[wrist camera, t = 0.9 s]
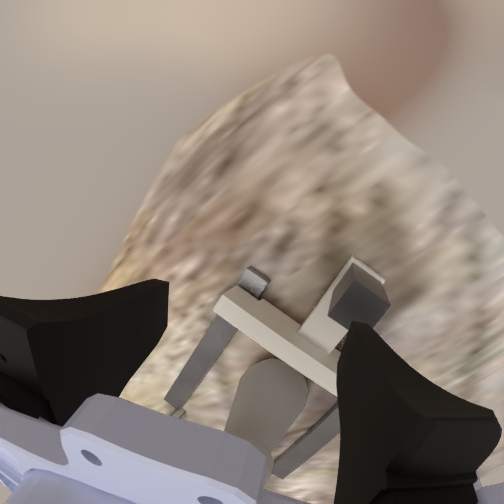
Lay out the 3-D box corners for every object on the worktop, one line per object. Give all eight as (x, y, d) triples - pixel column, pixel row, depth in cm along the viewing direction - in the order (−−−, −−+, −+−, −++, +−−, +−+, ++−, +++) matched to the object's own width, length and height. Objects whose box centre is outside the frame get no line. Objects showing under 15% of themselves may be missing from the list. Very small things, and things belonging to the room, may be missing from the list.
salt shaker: (286, 414, 27) (243, 517, 15) (237, 380, 28) (168, 470, 16) (325, 373, 26) (299, 482, 13) (271, 336, 27) (209, 426, 14)
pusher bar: (438, 317, 22) (468, 357, 15) (373, 394, 24) (376, 450, 17) (286, 209, 25) (260, 209, 17) (231, 296, 27) (189, 326, 20)
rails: (397, 367, 24) (398, 373, 23) (284, 473, 28) (282, 479, 27) (250, 266, 27) (246, 268, 26) (168, 394, 31) (163, 399, 30)
